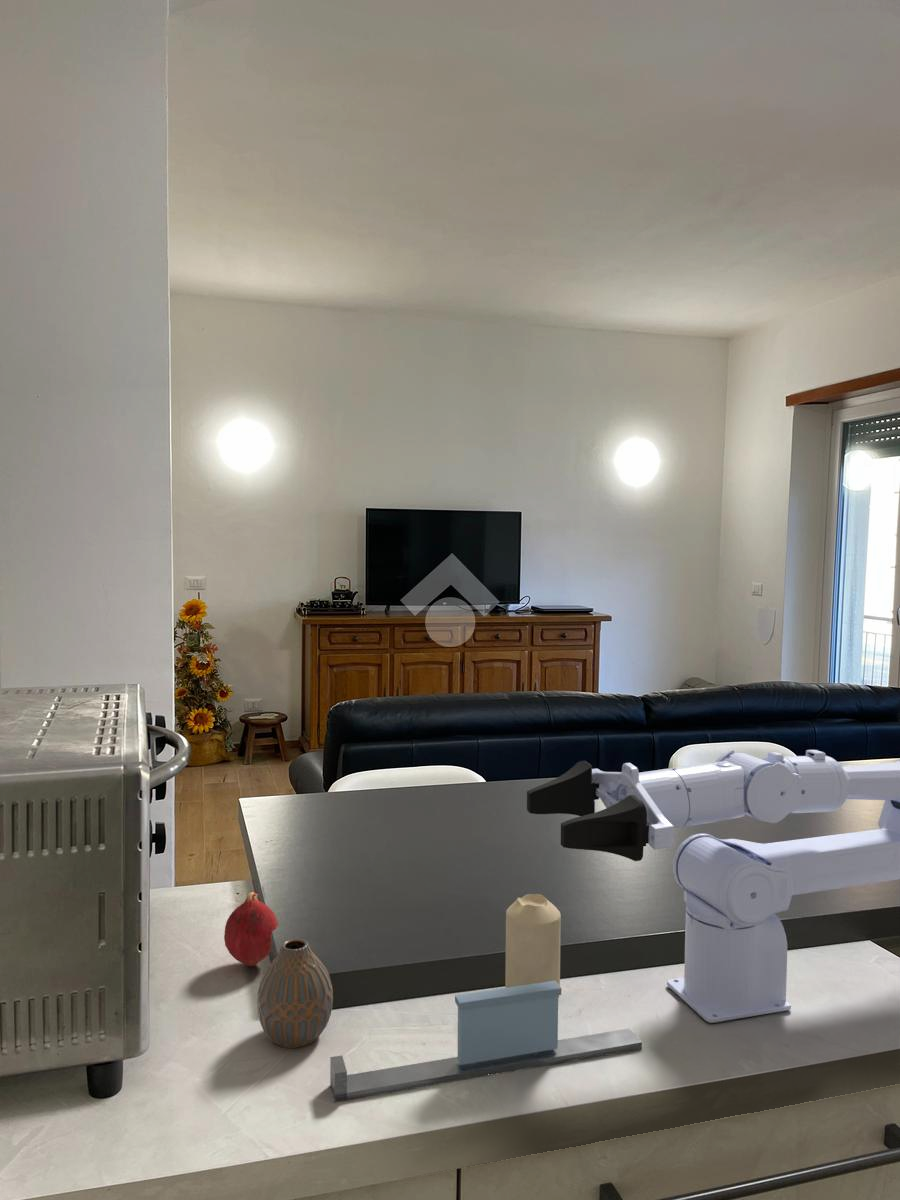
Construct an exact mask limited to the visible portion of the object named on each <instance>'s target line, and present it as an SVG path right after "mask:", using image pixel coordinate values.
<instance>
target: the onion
mask: <svg viewBox="0 0 900 1200" xmlns="http://www.w3.org/2000/svg"><path fill="white" fill-rule="evenodd" d="M277 921H278V918H277V916H276V914H275V912H274V911H273V909H271V908H270V907H269V906H268V905H267V904H265V903H264V902H262V901H259V899H258V893H256V892H254V891H251V892H249V893H248V894H247V896H246V898H245V901H244V902H243V903H241V904H240V905H238V906H237V907H236V908H234V910H233V911H232V912H231V913H230V914H229V916H228V918H227V920H226V922H225V927H224V933H223V935H224V936H223V939H224V946H225V947H226V949H227V951H228V952H229V954H230V955H231V956H232V958H233V959H235V960H236V961H238V962H240V963H241V964H243V965H245V966H247V967H255V966H257V965H258V964H259V963H260V962H261V961H263V960H265V959H266V957H268V956H269V954H270V953H271V952H270V947H271V935H272V931H273V930H275V929H276V927H277V926H279V922H277Z"/></svg>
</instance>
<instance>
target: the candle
mask: <svg viewBox="0 0 900 1200" xmlns="http://www.w3.org/2000/svg"><path fill="white" fill-rule="evenodd" d="M561 914H562V913H561V912H560V910H559V909H558V908H557V907H556V906H555V905H554V904H553V903H552V902H550V901H549V900H548V899H547V898H546V897H545V896H544V895H542V894H540V893H535V894H534V893H531V894H529V893H528V894H525V895H523V897H517V899H516V900H515V901H514V902H513V903H512V904H511V905H510V906H508V908H507V909H506V911H505V983H504V985H505V987H504V988H508V987H514V986H521V985H528V984H535V983H542V982H549V981H556V982H557V983H558V985H559V986H560V987H561V929H562V928H561V926H562V925H561V924H562V923H561V921H562V920H561V919H562V918H561ZM558 998H560V995H558Z"/></svg>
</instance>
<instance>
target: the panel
mask: <svg viewBox="0 0 900 1200" xmlns="http://www.w3.org/2000/svg"><path fill="white" fill-rule="evenodd" d="M558 995H559V996H562V987H561V985H560V986H559V985H558V983H557V982H556V981H549V982H542V983H535V984H528V985H521V986H514V987H508V988H505V987H501V988H493V989H488V990H482V991H481V990H479V991H475V992H469V993H467V992H466V993H461V994H455V995H454V1003H455V1004H456V1006H457V1057H458V1060H459V1062H460V1064H461V1065H463V1064H469V1063H475V1062H481V1061H487V1060H493V1059H499V1058H505V1057H511V1056H516V1055H522V1054H528V1053H534V1052H540V1051H546V1050H552V1049H558V1040H559V1038H558V1037H559V1035H558V1033H559V999H558Z"/></svg>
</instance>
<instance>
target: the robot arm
mask: <svg viewBox="0 0 900 1200" xmlns="http://www.w3.org/2000/svg"><path fill="white" fill-rule="evenodd" d="M597 800H601V802H602V803H603V805H604V807H605V808H604V809H602V810H599V811H596V808H595V807H596V806H595V805H596V801H597ZM847 800H862V801H863V800H864V801H865V800H866V801H869V800H870V801H884V802H883V806H882V809H881V813H880V815H879V819H878V821H877V826H878V827H879V828H877V829H870V830H862V831H852V832H847V833H846V832H845V833H839V834H838V833H837V834H830V835H824V836H823V835H821V836H815V837H814V836H813V837H808V838H807V837H806V838H800V839H799V838H798V839H791V840H784V841H775V842H767V843H761V842H754V841H748V840H744V839H737V838H726V839H725V838H724V839H721V838H717V837H715V836H713V835H711V834H709V833H696V834H693V835H690V836H689V837H687V838H686V839H684V841H682V842H681V843H680V845H679V846H678V847H677V850H676V851H675V854H674V856H673V860H672V873H673V876H674V879H675V881H676V883H677V884H678V885H679V887H681V888H682V889H683V901H684V903H685V922H684V923H685V928H684V930H685V934H684V935H685V936H684V937H685V939H684V977H677V978H672V979H671V978H670V979H668V980H667V981H666V986H668V987H669V989H670V990H672V991H673V992H674V993H675V994H676V996H678V997H680V998H681V1000H683V1001H684V1002H685V1003H686V1004H687V1005H688V1006H689V1008H691V1009H693V1011H695V1013H697V1014H698V1015H699V1016H700V1017H701V1018H702V1019H703V1020H704V1021H705V1022H706V1023H711V1024H713V1023H714V1024H715V1023H720V1022H726V1021H732V1020H737V1019H744V1018H749V1017H755V1016H762V1015H767V1014H773V1013H779V1012H785V1011H786V1012H787V1011H790V1010H791V1009H792V1004H791V1003H790V1002H788V1001H787V977H788V976H787V971H788V941H787V939H788V938H787V934H786V932H785V931H786V930H785V928H784V925H783V923H782V921H781V919H780V918H779V916H778V915H777V913H780V912H786V911H788V910H789V907H790V904H791V901H792V897H793V896H797V895H803V894H810V893H817V892H823V891H830V890H837V889H844V888H850V887H857V886H864V885H870V884H876V883H884V882H889V881H896V880H897V881H898V880H900V760H897V761H894V762H885V763H883V762H881V763H871V764H869V763H868V764H857V765H856V764H855V765H845V766H842V765H841V764H840V763H839V762H838V761H837V760H836V759H834V757H831V756H828V755H826V753H825V752H824V751H820V750H819V749H807V750H805V755H795V756H793V755H792V756H791V755H790V756H789V755H788V756H787V755H786V756H785V755H783V754H782V753H780V752H777V751H774V752H773V751H769V752H768V753H767V755H766V756H765V757H762V758H759V757H757V756H753V755H751V754H748V753H744V752H735V750H733V749H731V750H728V751H727V752H725V753H723V754H721V755H720V756H719V757H718V758H717V759H716V760H715V761H714V762H705V763H704V762H703V763H697V764H690V765H684V766H677V767H670V768H663V769H657V770H649V771H642V772H639V768H638V766H635V765H634V764H632V763H631V762H625V763H623V764H622V766H621V771H620V772H619V771H603V770H600V769H599V768H593V765H591V763H589V762H587V761H586V760H579V761H578V762H576V763H575V764H574V765H573V766H572V767H570V769H568V771H566V772H564V773H562V774H561V775H560V776H557V778H554V779H552V780H550V781H547V782H545V783H543V784H540V785H538V786H535V787H533V788H532V789H530V790H527V791H526V810H527V812H528V813H529V814H533V815H553V814H555V815H557V814H560V815H561V814H562V815H572V816H577V817H573V818H570V819H568V820H565V821H563V822H560V845H561V846H562V848H565V849H573V850H582V851H595V852H603V853H609V854H613V855H616V856H620V857H622V858H623V857H624V858H626V859H629V860H631V861H633V862H640V861H642V860H643V858H644V847H646V846H647V844H648V845H649V847H650V848H651V849H653V850H654V851H656V850H662V849H667V848H668V849H669V848H672V847H674V836H675V835H674V834H675V830H676V829H680V828H686V827H692V826H697V825H698V826H699V825H704V824H710V823H711V824H712V823H716V822H721V821H726V820H732V819H733V820H734V819H739V818H744V817H745V816H746V815H747V816H749V817H751V818H753V819H754V820H756V821H757V820H758V821H761V822H766V823H770V824H777V823H779V822H780V821H783V819H785V818H786V817H787V816H788V815H789V814H804V813H805V814H806V813H807V814H808V813H812V814H813V813H831V812H836V811H837V810H839V809H841V807H843V805H844V803H846V801H847Z"/></svg>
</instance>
